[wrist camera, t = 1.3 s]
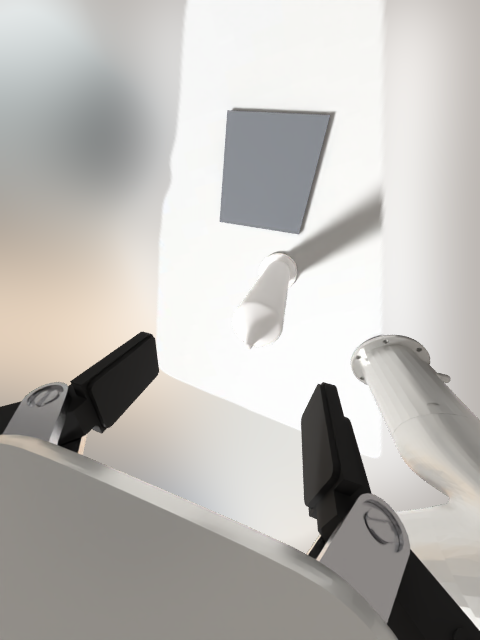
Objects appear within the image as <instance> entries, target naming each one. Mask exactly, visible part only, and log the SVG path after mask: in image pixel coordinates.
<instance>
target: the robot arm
mask: <svg viewBox="0 0 480 640" xmlns="http://www.w3.org/2000/svg"><path fill="white" fill-rule="evenodd" d="M429 364H430V356H429V354H428V352H427V350H426V349H425V348H424V347H423V346H422V345H421V344H420V343H419V342H417V341H416V340H414V339H411V338H409V337H405V336H400V335H384V336H379V337H376V338H373V339H370V340H368V341H366V342H364V343H363V344H362V345H360V346H359V347H358V348H357V349H356V350H355V352H354V353H353V355H352V358H351V368H352V371H353V373H354V375H355V376H356V378H357V379H358V380H360V381H361V382H363V383H364V384H366V385H368V386H369V389H370V391H371V393H372V395H373V397H374V399H375V402H376V404H377V406H378V408H379V410H380V413H381V415H382V417H383V419H384V421H385V424H386V426H387V428H388V430H389V432H390V434H391V437H392V439H393V441H394V443H395V445H396V447H397V449H398V451H399V453H400V455H401V457H402V458H403V460H404V461H405V463H406V464H407V465H408V466H409V467H410V469H412V471H414V472H415V473H416V474H417V475H418V476H419V477H421V478H422V479H423V480H424V481H426V482H427V483H429V484H430V485H432V486H433V487H435V488H436V489H437V490H439V491H440V492H442V493H443V494H445V495H447V496H448V497H449V501H448V503H446V504H443V505H438V506H432V507H431V508H423V509H415V510H407V511H399V512H395V511H394V510H393V509H392V508H391V507H390V506H389V505H388V504H387V503H386V502H385V501H383V500H382V499H381V498H379V497H377V496H376V495H373V494H371V490H370V487H369V483H368V480H367V476H366V473H365V469H364V466H363V463H362V459H361V456H360V452H359V449H358V445H357V442H356V439H355V435H354V432H353V428H352V425H351V422H350V420H349V419H348V418H346V417H344V414H343V411H342V407H341V403H340V399H339V396H338V392H337V388H336V386H335V385H331V384H328V383H324V382H323V383H322V384H321V385H320V384H318V385H317V387H316V389H315V391H314V393H313V395H312V397H311V399H310V401H309V403H308V405H307V407H306V409H305V411H304V413H303V415H302V419H301V431H302V455H303V482H304V501H305V505H306V506H308V507H309V516H310V517H313V518H315V519H317V524H318V532H319V533H320V534H319V536H318V538H317V539H316V540H315V542H314V543H313V545H312V546H311V548H310V549H309V551H308V552H307V554H305V553H303V552H301V551H299V550H297V549H295V548H293V547H291V546H289V545H287V544H285V543H283V542H281V541H278V540H276V539H274V538H272V537H270V536H268V535H265V534H263V533H261V532H259V531H257V530H255V529H252V528H250V527H248V526H246V525H243V524H241V523H239V522H236V521H234V520H232V519H229V518H227V517H225V516H223V515H220V514H218V513H216V512H214V511H211V510H209V509H207V508H204V507H202V506H199V505H197V504H195V503H193V502H191V501H188V500H186V499H183V498H181V497H179V496H177V495H174V494H172V493H170V492H167V491H165V490H163V489H160V488H158V487H155V486H154V485H151V484H149V483H147V482H144V481H142V480H139V479H137V478H135V477H133V476H130V475H128V474H126V473H123V472H121V471H118V470H116V469H114V468H111V467H109V466H107V465H104V464H102V463H100V462H97V461H95V460H93V459H90V458H88V457H85V456H83V452H84V447H85V443H86V438H87V434H88V432H89V431H90V430H91V429H93V430H95V431H97V432H100V433H103V432H104V430H106V428H109V427H111V426H112V425H113V424H114V423H115V422H116V421H117V420H118V418H119V417H120V416H121V415H122V414H123V413H124V412H125V410H127V408H128V407H129V406H130V405H131V404H132V403H133V402H134V401H135V400H136V399H137V397H138V396H139V395H140V394H141V393H142V392H143V391H144V390H145V389H146V388H147V386H148V385H149V384H150V383H151V382H152V381H153V380H154V379H155V378H156V376H157V375H158V373H159V367H158V359H157V351H156V342H155V338H154V337H153V335H152V334H149V333H145V332H140V333H139V334H137V335H136V336H135V337H133V338H132V339H130V340H129V341H127V342H126V343H125V344H123V345H122V346H120V347H119V348H117V349H116V350H115V351H113V352H112V353H110V354H109V355H107V356H106V357H105V358H103V359H102V360H100V361H99V362H97V363H96V364H95V365H93V366H92V367H90V368H89V369H87V370H86V371H85V372H83V373H82V374H80V375H79V376H77V377H76V378H75V379H73V380H72V381H70V382H71V385H69V386H67V384H65V383H61V382H54V383H49V384H45V385H43V386H41V387H38V388H36V389H35V390H33V391H31V392H30V393H29V394H28V395H26V396H25V398H24V399H23V400H22V401H21V402H17V403H14V404H10V405H6V406H2V407H0V640H480V420H479V419H478V418H477V417H476V416H475V415H474V414H473V413H472V412H471V411H470V410H469V409H468V407H467V406H466V405H465V404H464V403H463V402H462V401H461V400H460V399H459V398H458V397H457V396H456V395H455V394H454V393H453V392H452V391H451V390H450V389H449V387H448V386H446V384H445V383H448V382H449V381H450V377H449V376H448V375H444V374H441V373H437V372H435V370H434V369H433V368H432V367H431V366H430V365H429ZM444 382H445V383H444Z"/></svg>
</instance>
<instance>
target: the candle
mask: <svg viewBox="0 0 480 640" xmlns="http://www.w3.org/2000/svg"><path fill="white" fill-rule="evenodd" d="M296 277H297V267H296V264H295V262H294V260H293V259H292V258H291V257H289V256H288V255H286V254H282V253H275V254H272V255H269V256H268V257H266V258H265V259H264V260H263V262H262V263H261V265H260V267H259V279H258V280H257V282H256V283H255V284H254V286H253V287H252V288H251V290H250V291H249V293H248V294H247V295H246V297H245V298H244V299H243V301H242V302H241V304H240V305H239V306H238V308H237V309H236V311H235V312H234V315H233V319H232V325H233V329H234V331H235V333H236V335H237V336H238V337H239V338H240V339H241V340H242V341H243V342H245V348H246V349H251V348H252V347H253V346H256V347H263V346H268V345H270V344H272V343H274V342H275V341H276V340H277V339H278V338H279V336H280V335H281V333H282V329H283V322H284V314H285V306H286V299H287V291H288V288H289V287H290V286H292V284H293V283H294V282H295V280H296Z"/></svg>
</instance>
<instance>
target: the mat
mask: <svg viewBox="0 0 480 640" xmlns="http://www.w3.org/2000/svg"><path fill="white" fill-rule="evenodd" d="M329 118H330V115H317V114H295V113H273V112H251V111H229V110H227V124H226V139H225V153H224V168H223V182H222V197H221V211H220V222H225V223H231V224H237V225H244V226H250V227H256V228H263V229H269V230H275V231H282V232H288V233H294V234H299V232H300V228H301V224H302V221H303V217H304V213H305V209H306V205H307V202H308V198H309V194H310V190H311V186H312V183H313V179H314V175H315V171H316V167H317V163H318V160H319V156H320V152H321V148H322V144H323V141H324V137H325V133H326V129H327V125H328V122H329Z"/></svg>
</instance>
